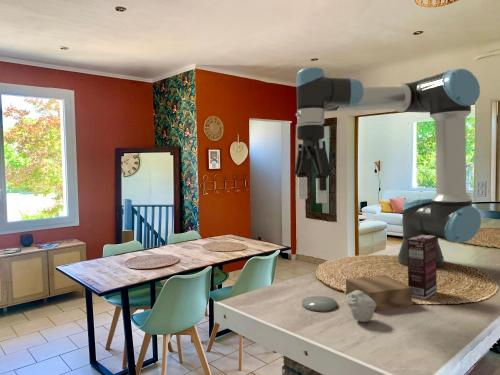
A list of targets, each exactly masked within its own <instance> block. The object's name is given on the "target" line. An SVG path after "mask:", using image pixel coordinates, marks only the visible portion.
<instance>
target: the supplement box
mask: <svg viewBox="0 0 500 375" xmlns="http://www.w3.org/2000/svg"><path fill="white" fill-rule="evenodd" d="M407 240H408V266H407V271H408V272H407V279H408V280H407V284H408V285H407V286H410V287H412V298H416V299H420V300H427V299H428V298H430V297H431V296H433V295H434V294H435V293H437V290H438V288H437V267H436V236H431V235H418V236H415V237H412V238H410V239H407Z"/></svg>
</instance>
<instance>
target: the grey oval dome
mask: <svg viewBox="0 0 500 375" xmlns="http://www.w3.org/2000/svg"><path fill="white" fill-rule="evenodd" d="M301 306H302V308H304V309H306V310H308V311H312V312H323V313H324V312H330V311H333V310H335V309H336V308H338V307H337V306H338V302H337V300H335V298H332V297H328V296H324V295H313V296H307V297H304V298H303V299H302V300H301Z"/></svg>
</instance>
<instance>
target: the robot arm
mask: <svg viewBox="0 0 500 375" xmlns="http://www.w3.org/2000/svg"><path fill="white" fill-rule="evenodd" d="M324 72H325V71H324V70H323V69H322V68H320V67H316V66H313V67H311V66H310V67H305V68H301V69H300V70H298V72H297V73H296V82H295V83H296V85H295V88H296V113H295V117H296V119H297V120H296V123H297V125H298V126H297V127H296V132H297V133H296V135H297V136H296V137H297V140H298V141H302V143H298V145H297V155H296V162H295V168H294V175H296V177H297V199H298V200H307V199H308V176H309V175H308V169H309V166H310V164H311V161H312V164H313V167H314V170H315V173H316V175H315V186H316V187H315V189H316V190H315V192H316V193H315V198H316V200H315V202H316V204H325V203H328V188H327V187H328V186H327V185H328V182H327V181H328V180H327V179H328V178H329V177H330V176H331V175H332V170H331V167H330V162H329V157H328V154H327V150H326V141H325V140H323V139H324V138H325V126H324V125H323V124H325V112H341V111H342V112H343V111H345V112H346V111H374V110H375V111H376V110H377V111H378V110H379V111H380V110H382V111H383V110H395V111H396V112H397V113H398V112H399V113H425V114H426V113H429V117H430V118H431V119H432V120H434V124H435V125H434V127H435V128H434V131H435V134H434V136H435V176H436V178H435V186H436V188H435V192H436V193H435V195H434V196H433V197H432V198H422V199H409V200H405V201H403V203H402V211H401V213H402V242H401V246H400V248H399V253H398V254H397V261H398V263H399V264H401V265H405V266H407V267H408V240H407V239H410V238H412V237H415V236H418V235H431V236H436V268H439V267H443V266H444V265H445V258H444V255H443V252H442V250H441V246H440V243H439V239H442V240H445V241H449V242H456V243H466V242H469V241H470V240H472V239H473V238H475V236H476V235H477V234H478V232H479V230H480V228H481V224H482V216H481V215H482V214H481V213H480V212H479V209H477V208H476V207H474V206H473V200H472V197H470V196H469V194H467V148H466V147H467V146H466V144H467V142H466V139H467V138H466V136H467V135H466V131H467V130H466V128H467V127H466V118H467V117H468V116H469V115H470V114H471V113H472V105H474V104H476V102H477V101H478V99H479V98H480V94H481V90H480V88H481V87H480V82H479V80H478V78H477V77H476V76H475V75H474V74H473V72H472V71H470V70H468V69H466V68H455V69H450V70H449V69H448V70H446V71H445V72H442V73H438V74H436V75H432V76H428V77H425V78H422V79H419V80H416V81H412V82H408V83H399V84H397V85H396V86H364V85H363V83H362V81H360V80H359V79H356V78H350V77H348V78H347V77H346V78H342V77H327V76H325V73H324Z"/></svg>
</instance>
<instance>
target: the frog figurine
mask: <svg viewBox="0 0 500 375" xmlns="http://www.w3.org/2000/svg"><path fill="white" fill-rule="evenodd" d="M345 299H346V303H347V305H348V307H349V308H350V311H351V314H352V316H353V318H354V319H355V320H356V321H357V322H360V323H367V322H369V321H371V320H372V319H373V317H374V314H375V311H374V310H375V307H376V303H375V302H374V301H373V300H372V299H371V298H370V297H369V296H367V295H365V294H364V293H363V292H362V291H359V290H355V291H353V292H352V293H349V294H348V295H346V294H345Z"/></svg>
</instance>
